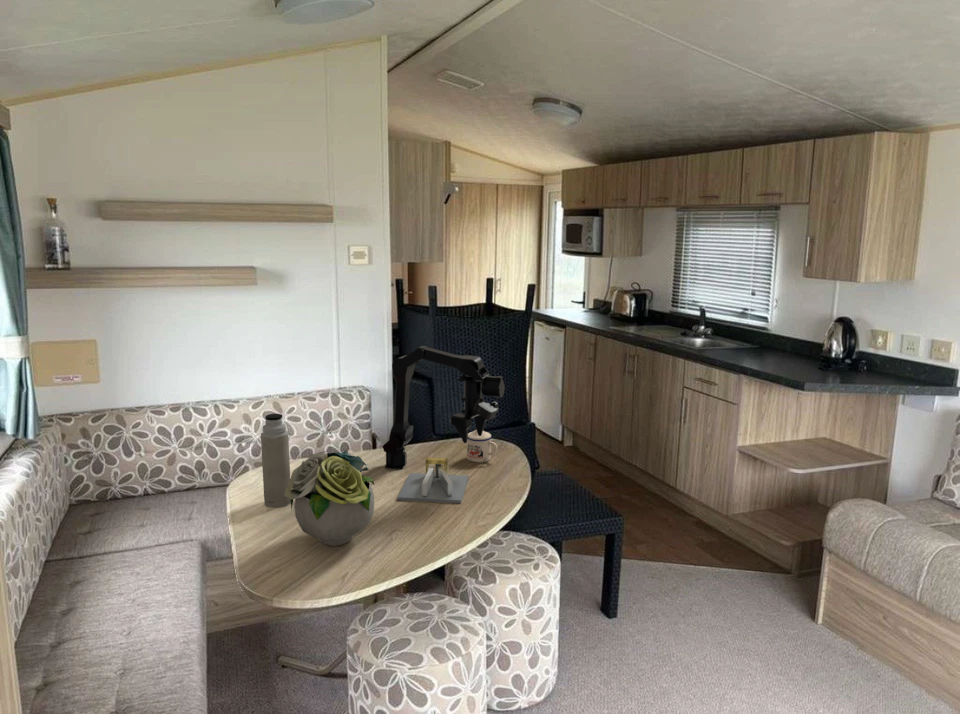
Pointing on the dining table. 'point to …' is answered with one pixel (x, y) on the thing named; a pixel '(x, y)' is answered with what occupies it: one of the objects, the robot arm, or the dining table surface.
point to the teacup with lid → (479, 447)
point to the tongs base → (432, 487)
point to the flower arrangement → (331, 496)
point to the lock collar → (437, 461)
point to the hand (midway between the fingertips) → (472, 439)
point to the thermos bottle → (275, 461)
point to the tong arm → (445, 481)
